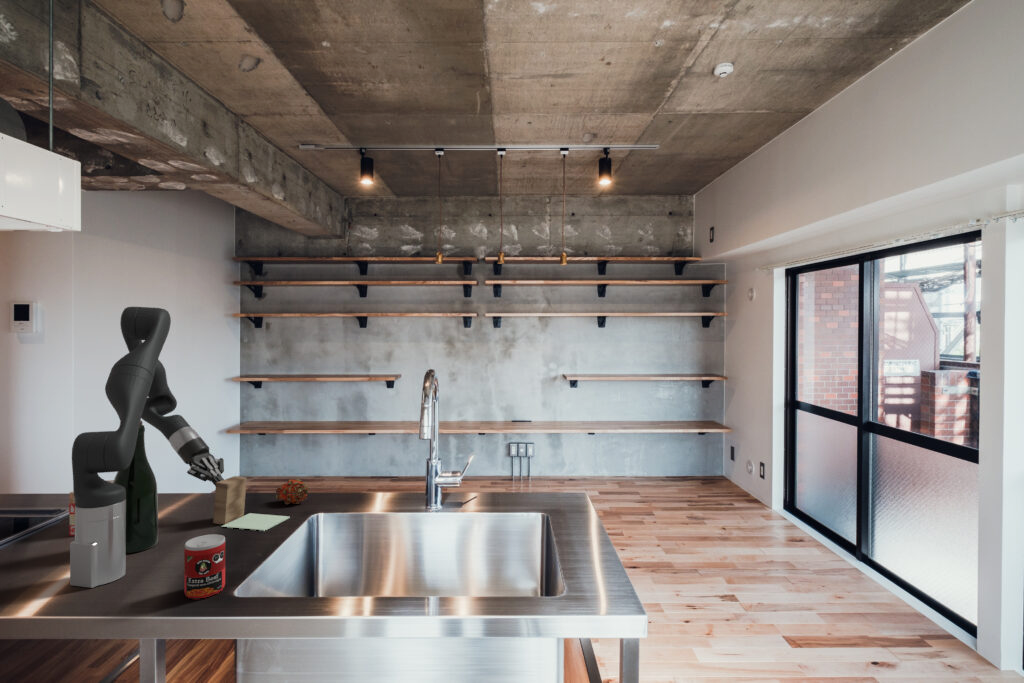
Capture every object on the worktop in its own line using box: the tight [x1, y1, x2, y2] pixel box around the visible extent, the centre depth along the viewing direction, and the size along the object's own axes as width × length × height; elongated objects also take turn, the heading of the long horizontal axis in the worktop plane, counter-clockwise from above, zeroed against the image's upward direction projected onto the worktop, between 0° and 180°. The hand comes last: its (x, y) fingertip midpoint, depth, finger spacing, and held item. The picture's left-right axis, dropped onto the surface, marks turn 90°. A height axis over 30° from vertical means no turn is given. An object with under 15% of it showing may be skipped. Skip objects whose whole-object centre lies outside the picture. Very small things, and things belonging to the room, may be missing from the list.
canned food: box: [183, 533, 226, 600], centre depth 118 cm, size 8×8×11 cm
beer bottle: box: [113, 420, 159, 554], centre depth 142 cm, size 10×10×33 cm
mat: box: [221, 512, 291, 532], centre depth 162 cm, size 12×14×1 cm
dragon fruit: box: [275, 478, 311, 505], centre depth 182 cm, size 8×8×12 cm
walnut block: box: [212, 475, 248, 526], centre depth 164 cm, size 8×4×12 cm, turn 168°
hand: (223, 487), depth 164 cm, fingers closed
